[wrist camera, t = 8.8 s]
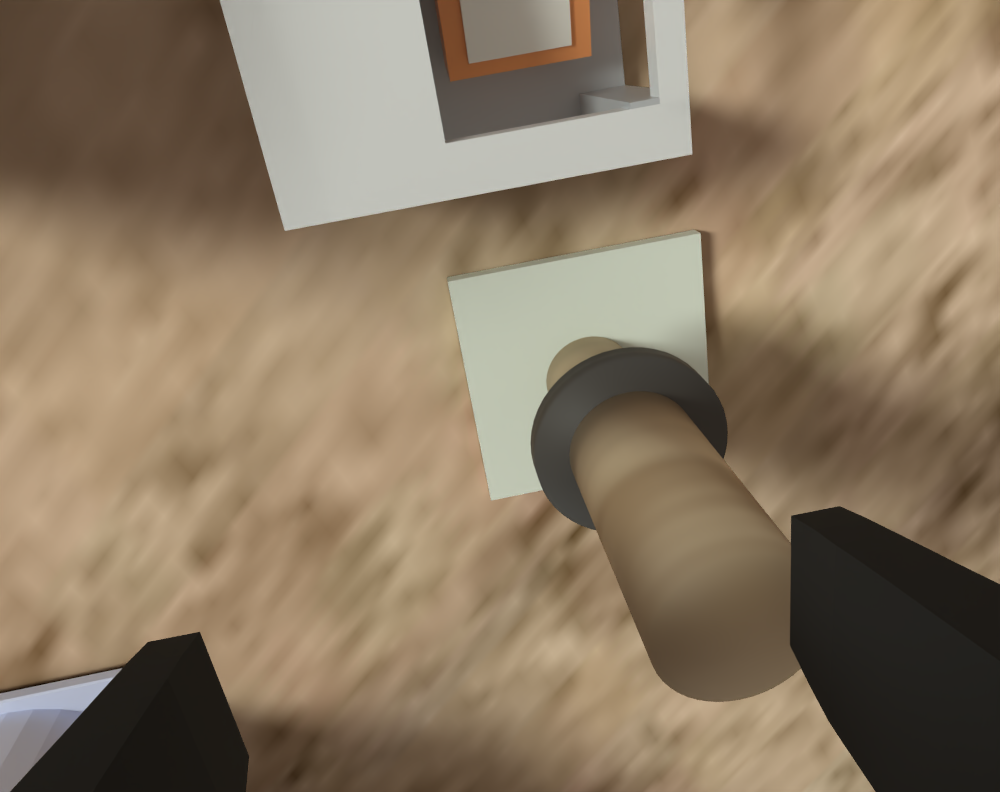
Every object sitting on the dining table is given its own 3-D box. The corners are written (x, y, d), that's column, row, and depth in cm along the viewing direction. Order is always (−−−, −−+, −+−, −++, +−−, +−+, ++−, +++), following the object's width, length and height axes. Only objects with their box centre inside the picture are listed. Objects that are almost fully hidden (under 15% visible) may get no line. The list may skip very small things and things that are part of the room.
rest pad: (707, 448, 21) (712, 455, 20) (489, 492, 20) (490, 500, 20) (694, 230, 18) (700, 233, 18) (446, 277, 18) (447, 281, 18)
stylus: (671, 434, 20) (868, 707, 12) (521, 462, 20) (611, 759, 11) (664, 287, 18) (886, 482, 10) (499, 316, 18) (585, 540, 10)
